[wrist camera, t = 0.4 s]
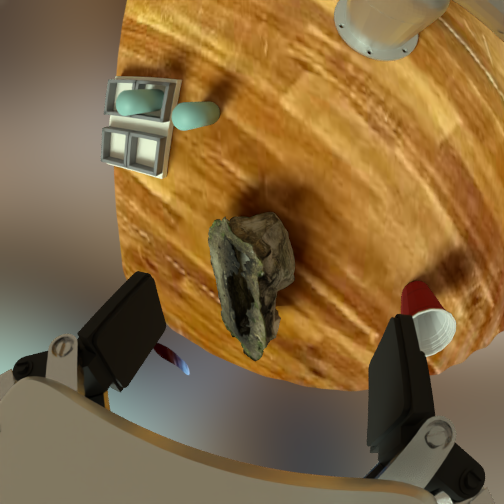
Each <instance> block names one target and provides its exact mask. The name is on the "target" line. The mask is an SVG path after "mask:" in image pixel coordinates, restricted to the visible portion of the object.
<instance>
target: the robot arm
mask: <svg viewBox="0 0 504 504" xmlns="http://www.w3.org/2000/svg"><path fill="white" fill-rule="evenodd" d="M452 1H454V2H455V3H458V4H459V5H460V6H462V7H463V8H465V9H466V10H467V11H468V12H470V13H471V14H472V15H474V16H475V17H476V18H477V19H478V20H480V21H481V22H482V23H483V24H484V25H486V26H487V27H488V28H489V29H490V30H491V31H492V32H493V33H495V34H496V35H497V36H498V37H499V38H500V39H501V40H502V41H503V42H504V0H452ZM449 3H450V0H339V2H338V3H337V5H336V7H335V12H334V21H335V26H336V28H337V31H338V33H339V34H340V36H341V37H342V39H343V40H344V41H345V42H346V43H347V44H348V45H349V46H350V47H351V48H352V49H354V50H355V51H356V52H358V53H360V54H361V55H363V56H366V57H368V58H371V59H374V60H379V61H395V60H399V59H402V58H404V57H406V56H407V55H409V54H410V53H411V52H412V51H413V50H414V48H415V46H416V45H417V41H418V33H419V32H421V31H422V30H423V29H425V28H426V27H427V26H429V25H430V24H431V23H433V22H434V21H435V20H437V19H438V18H439V17H440V16H442V15H443V14H444V13H445V11H446V10H447V8H448V6H449ZM340 26H343V28H340ZM402 50H404V51H405V53H404V52H403V51H402ZM368 52H370V53H371V54H368ZM165 328H166V322H165V319H164V315H163V312H162V308H161V304H160V301H159V297H158V293H157V289H156V285H155V281H154V279H153V278H152V276H151V275H150V274H148V273H144V272H139V271H137V272H135V273H134V274H133V275H132V276H131V277H130V278H129V279H128V280H127V281H126V282H125V283H124V284H123V285H122V286H121V287H120V288H119V289H118V290H117V291H116V292H115V294H113V296H112V297H111V298H110V299H109V300H108V301H107V302H106V303H105V304H104V305H103V306H102V307H101V308H100V309H99V310H98V311H97V312H96V313H95V315H94V316H93V317H92V318H91V319H90V320H89V321H88V322H87V323H86V324H85V325H84V327H83V328H82V329H81V330H80V331H79V332H78V336H79V338H78V339H76V337H75V336H73V335H71V334H63V335H60V336H58V337H56V338H55V339H54V340H53V341H52V342H51V344H50V346H49V350H48V351H45V352H42V353H38V354H33V355H29V356H25V357H23V358H21V359H19V360H18V361H17V362H16V364H15V366H14V368H13V371H12V369H10V370H8V371H6V372H5V373H3V374H1V375H0V504H495V502H494V500H493V498H492V496H491V494H490V492H489V490H488V488H487V487H486V488H484V487H483V485H484V481H485V472H484V469H483V468H482V466H481V465H480V464H479V463H478V462H477V461H475V460H474V459H473V458H472V457H471V456H470V455H469V454H467V453H466V452H465V451H464V450H463V449H461V447H460V446H458V445H457V444H456V443H455V440H456V430H455V427H454V425H453V423H452V422H451V421H450V420H449V419H447V418H445V417H443V416H435V410H434V402H433V395H432V388H431V383H430V376H429V370H428V365H427V360H426V356H425V353H424V352H423V351H420V347H419V342H418V338H417V333H416V329H415V325H414V321H413V317H412V316H411V315H404V314H397V315H396V316H395V318H394V317H392V318H391V319H390V321H389V323H388V326H387V328H386V330H385V332H384V334H383V337H382V339H381V341H380V343H379V345H378V347H377V349H376V351H375V353H374V356H373V358H372V359H371V362H370V364H369V402H368V429H367V446H371V448H370V453H378V461H379V462H378V463H377V464H376V465H375V466H374V467H373V468H372V469H371V470H370V471H369V472H368V473H367V474H366V475H365V476H364V477H363V478H348V477H332V476H321V475H312V474H304V473H295V472H289V471H282V470H276V469H271V468H266V467H261V466H256V465H252V464H247V463H243V462H239V461H235V460H232V459H228V458H224V457H221V456H217V455H214V454H211V453H208V452H205V451H201V450H198V449H196V448H193V447H190V446H187V445H184V444H181V443H179V442H176V441H173V440H171V439H168V438H166V437H164V436H161V435H159V434H156V433H154V432H152V431H150V430H148V429H145V428H143V427H141V426H139V425H137V424H135V423H132V422H130V421H128V420H126V419H124V418H123V417H121V416H119V415H117V414H115V413H113V412H111V411H110V405H109V398H108V391H107V390H108V388H109V386H110V387H111V388H113V389H115V390H117V391H119V392H121V391H122V390H123V388H126V387H127V386H128V385H129V383H130V382H131V380H132V379H133V377H134V376H135V374H136V373H137V371H138V370H139V368H140V367H141V365H142V364H143V362H144V361H145V359H146V358H147V356H148V355H149V353H150V352H151V350H152V349H153V347H154V346H155V345H156V343H157V342H158V340H159V339H160V337H161V336H162V334H163V333H164V331H165Z"/></svg>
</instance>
